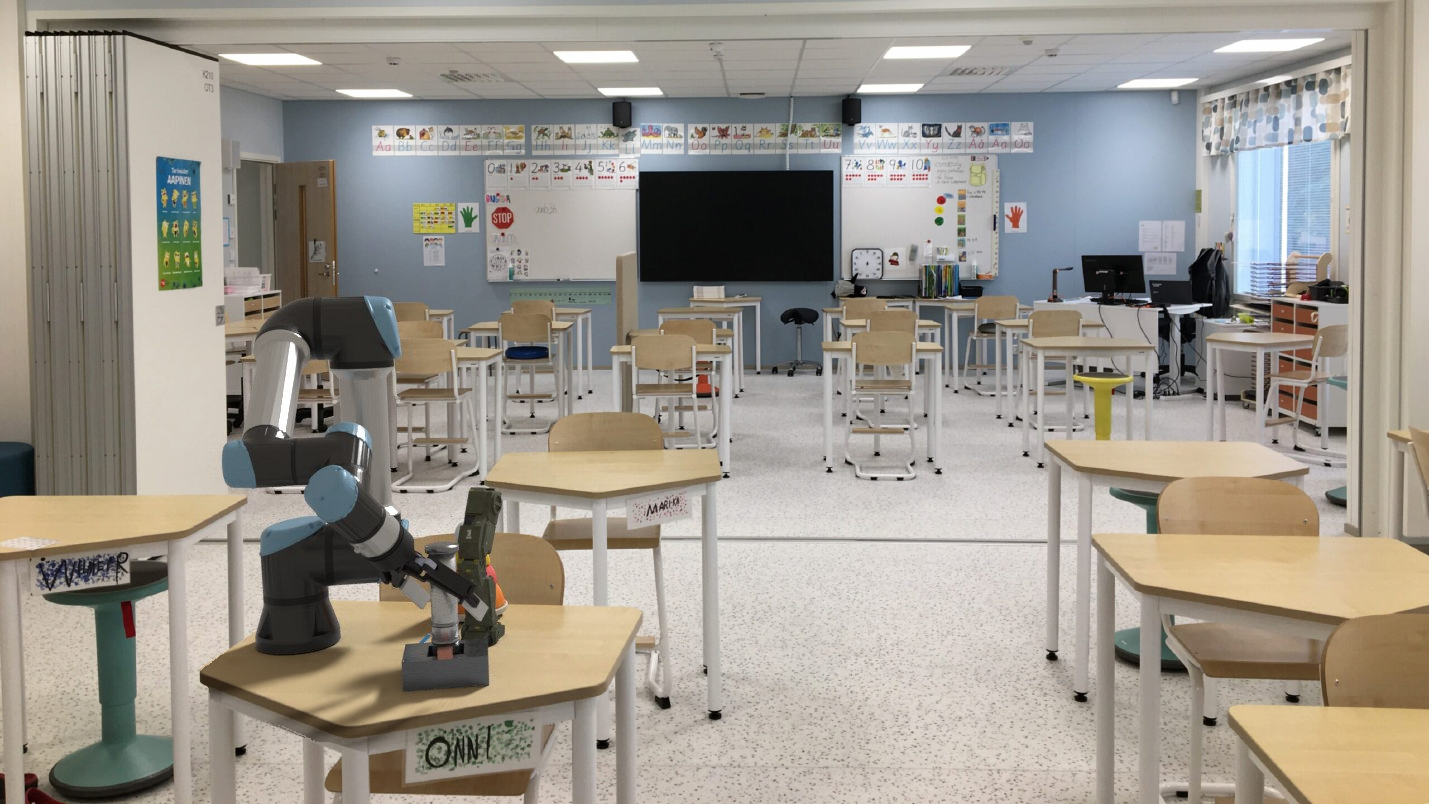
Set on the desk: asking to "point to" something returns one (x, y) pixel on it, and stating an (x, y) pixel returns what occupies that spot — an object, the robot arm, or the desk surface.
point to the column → (444, 601)
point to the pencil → (426, 637)
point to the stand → (445, 666)
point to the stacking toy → (500, 601)
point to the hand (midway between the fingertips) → (454, 608)
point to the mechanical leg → (480, 560)
